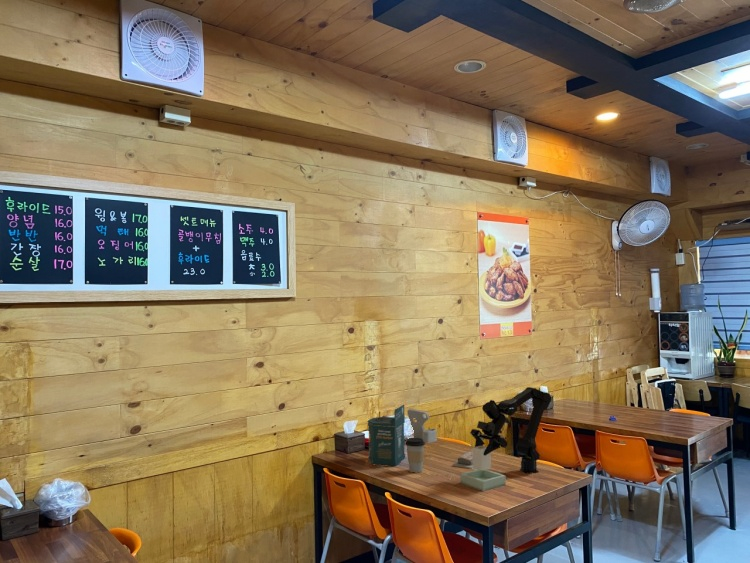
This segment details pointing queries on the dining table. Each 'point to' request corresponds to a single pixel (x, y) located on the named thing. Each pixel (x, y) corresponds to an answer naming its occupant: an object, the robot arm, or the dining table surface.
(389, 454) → the donation box
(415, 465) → the coffee cup
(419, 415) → the phone holder
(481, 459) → the beige hollow square block
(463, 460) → the packaged product
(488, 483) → the green square tray
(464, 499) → the dining table surface
